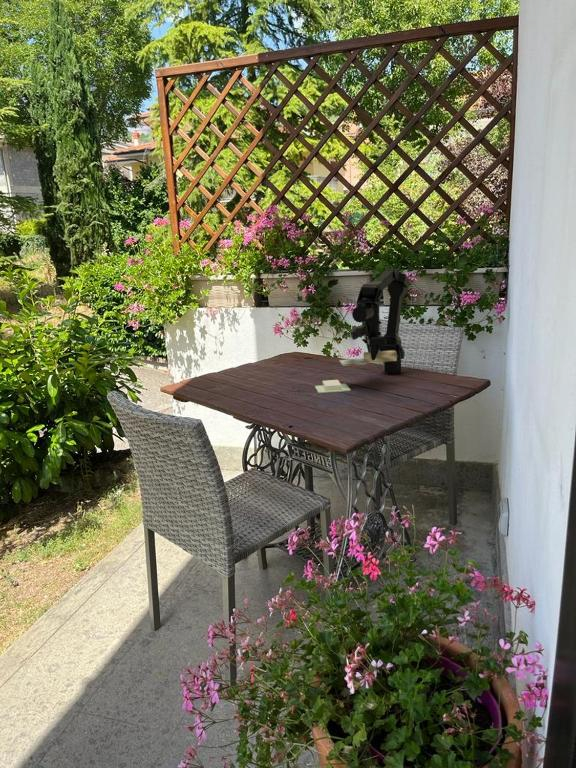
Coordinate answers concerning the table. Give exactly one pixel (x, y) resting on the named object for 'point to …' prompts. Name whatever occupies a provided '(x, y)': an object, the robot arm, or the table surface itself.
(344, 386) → the mat
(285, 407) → the table surface
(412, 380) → the table surface
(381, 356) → the turner
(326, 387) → the tile
